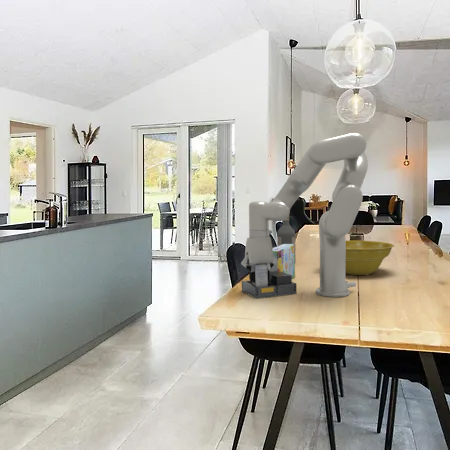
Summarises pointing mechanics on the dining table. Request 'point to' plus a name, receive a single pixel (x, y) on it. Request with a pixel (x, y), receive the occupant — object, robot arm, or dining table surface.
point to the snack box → (284, 259)
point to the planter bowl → (365, 256)
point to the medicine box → (260, 275)
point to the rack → (272, 286)
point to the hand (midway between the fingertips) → (259, 280)
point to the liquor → (286, 234)
